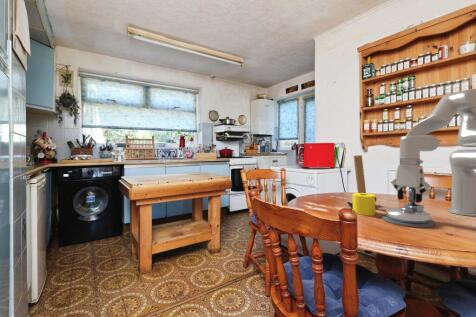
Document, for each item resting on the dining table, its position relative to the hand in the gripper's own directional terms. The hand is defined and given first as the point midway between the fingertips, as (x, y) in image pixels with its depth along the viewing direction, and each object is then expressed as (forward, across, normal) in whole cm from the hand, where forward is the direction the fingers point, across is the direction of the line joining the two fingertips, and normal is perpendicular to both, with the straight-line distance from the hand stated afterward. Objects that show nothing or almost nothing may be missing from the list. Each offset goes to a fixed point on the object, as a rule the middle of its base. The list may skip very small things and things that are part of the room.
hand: (409, 200), depth 107 cm
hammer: (+9, +25, -2) cm, 27 cm away
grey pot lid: (+7, -2, +5) cm, 9 cm away
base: (+8, -2, +5) cm, 10 cm away
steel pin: (+4, -1, 0) cm, 4 cm away
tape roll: (+9, +16, +10) cm, 21 cm away
